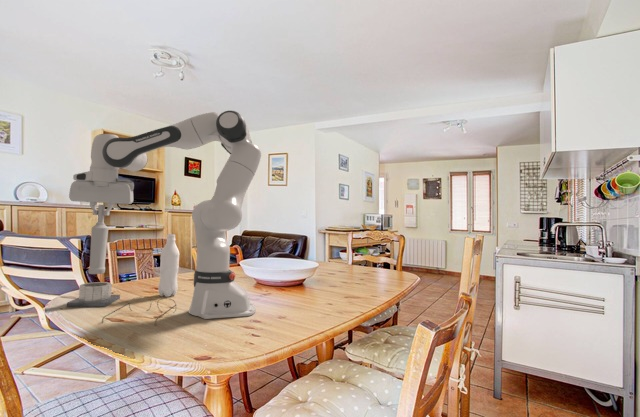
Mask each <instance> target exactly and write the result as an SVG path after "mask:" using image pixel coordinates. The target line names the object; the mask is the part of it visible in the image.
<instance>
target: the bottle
mask: <svg viewBox="0 0 640 417" xmlns="http://www.w3.org/2000/svg"><path fill="white" fill-rule="evenodd" d="M97 210H98V215H97V221H96V223H95V225H93V226H92V227H91V234H90V235H91V237H90V251H89V252H90V253H89V268H88V274H89V275H100V274H102V275H103V274H105V273H106V257H107V256H106V255H107V248H108V237H109V227H108V226H107V225H106V223H105V215H103V211H106V204H98V208H97Z"/></svg>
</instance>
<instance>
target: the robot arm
mask: <svg viewBox="0 0 640 417" xmlns="http://www.w3.org/2000/svg"><path fill="white" fill-rule="evenodd" d="M212 142H219V143H220V145H221V147H222V148H223V149H224V150H226V152H227V153H229V155H230V156H229V157H228V159H227V160H226V162H225V165H224V166H223V168H222V170H221V171H220V173H219V174H218V176H217V179H216V186H215V190H214V194H213V196H212V197H211V199H207V200H203V201H200V203H197V204H196V205H195V207H194V208H193V210H192V212H191V213H192V214H191V218H192V220H193V223H194V233H195V238H196V239H195V240H196V265H195V267H196V268H195V270H194V273H193V288H194V289H193V295H192V298H191V302H190V307H189V310H188V314H190V315H192V316H195V317H200V318H201V319H204V320H206V319H207V320H208V319H210V320H211V319H221V318H223V319H224V318H236V317H237V318H238V317H239V318H241V317H250V316H252V315H254V314H256V313H255V312H256V305H254V303H251V302H250V295H249V292H248V291H247V289H245V288H243V286H241V285H240V284H239V283H237V282H236V281H235V278H236V274H235V271H232V270H230V261H231V260H230V258H231V247H230V244H229V242H228V238H227V233H226V232H228V231H230V230H233V229H236V228H237V227H238V226H239V225H240V224H241V221H242V219H243V212H242V206H243V202H244V198H245V195H246V192H247V191H248V189H249V187H250V184H251V182H252V180H253V179H254V176H255V175H256V172H257V170H258V167H259V166H260V162H261V158H262V151H261V149H260V148H259V147H258V146H257V145H256V144H255V143H253V142H252V139H251V135H250V130H249V128H248V125H247V123H246V121H245V118H244V117H243V116H242V115H241V114H240V113H239V112H237V111H235V110H225V111H223V112H221V113H218V112H215V111H210V112H205V113H202V114H201V113H200V114H197V115H195V116H191V117H189V118H186V119H184V120H182V121H178V122H176V123H173V124H170V125H167V126H165V127H160V128H155V129H153V130H150V131H147V132H144V133H141V134H138V135H134V136H130V137H119V136H118V135H117V134H113V133H99V134H98V135H96V136H95V137H94V138H93V141H92V144H91V149H90V160H91V164H90V166H89V170H88V171H83V172H78V173H75V174H73V177H72V179H73V180H74V181H73V182H71V184H70V189H69V194H68V198H69V200H70V201H71V202H80V203H81V202H82V203H89V206H90V208H91V210H92V215H94V216H98V208H97V205H98V203H101V204H103V203H105V204H106V206H107V207H106V208H105V211H103V215H104V216H110V213H111V211H112V209H113V208H114V205H115V204H119V205H120V204H122V205H132V203H134V189H135V183H134V181H133V180H131V179H129V178H128V179H126V178H125V179H124V178H119V170H120V169H123V170H125V171H129V172H138V171H139V172H140V171H141V170H143V169H145V168H146V166H147V163H148V155H147V153H149V152H152V151H156V150H158V149H162V148H168V147H169V148H176V149H181V150H187V151H188V150H192V149H197V148H200V147H202V146H204V145H206V144H208V143H209V144H210V143H212Z"/></svg>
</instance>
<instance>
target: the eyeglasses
mask: <svg viewBox="0 0 640 417" xmlns="http://www.w3.org/2000/svg"><path fill="white" fill-rule="evenodd" d="M134 299H136V297H134V298H131V299H130V302H128V303H126V304H125V305H122V306H121V307H119V308H117V309H115V310H113V311H112V312H110V313H107V314H106V315H104V316H103V317H102V320H101V324H104V319H105V318H106V317H108V316H110V315H112V314H113V313H115V312H117V311H119V310H120V309H122V308H124V307H126V306H128V305H129V306H128V308H129V310H130V311H131V312H132V311H133V310H132V309H131V302H132V300H134ZM137 299H141V297H139V296H138V297H137ZM144 299H147V300H149V301H150V302H152V300H151V298H149V297H144ZM152 299H153V300H154V299H156V300H157V299H158V300H157V301H156V304H157V309H158V310H159V312H162V314H161V315H160V316H158V317H156V318H155V321H154V326H155V327H157V321H158V320H159V319H160V318H161V317H163V316H164V315H165V314H167V313H168V312H169V311H171V310H172V309H173V308H174V307H175V310H174V311H173V312H172V313H175V312H176V311H177V308H176V307H177V303H176V301H175V300H174V299H173V298H170V300H171V301H173V302H174V304H175V305H173V306H172V307H171V308H169V309H168V310H166V311H165V312H164V313H163V311H162V310H161V309H160V308H159V302H160V301H161V300H162V298H158V297H154V298H153V297H152ZM151 307H152V303H150V306H149V308H148V309H147V310H146V312H147V311H149V310H150V309H151Z"/></svg>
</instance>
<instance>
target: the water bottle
mask: <svg viewBox="0 0 640 417" xmlns="http://www.w3.org/2000/svg"><path fill="white" fill-rule="evenodd" d="M176 240H177V239H176V234H173V233H169V234H167V236H166V243H165V245H164V247H163V248H162V250H161V252H160V266H159V274H160V278H159V283H158V287H157V290H158V294H159V296H160V297H166V298H168V297H171V296H172V297H174V296H176V294H177V293H178V292H177V291H178V288H179V285H178V284H179V283H178V272H179V270H180V266H179V265H180V264H179V263H180V253H181V252H180V251H179V248H178V246H177V244H176Z"/></svg>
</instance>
